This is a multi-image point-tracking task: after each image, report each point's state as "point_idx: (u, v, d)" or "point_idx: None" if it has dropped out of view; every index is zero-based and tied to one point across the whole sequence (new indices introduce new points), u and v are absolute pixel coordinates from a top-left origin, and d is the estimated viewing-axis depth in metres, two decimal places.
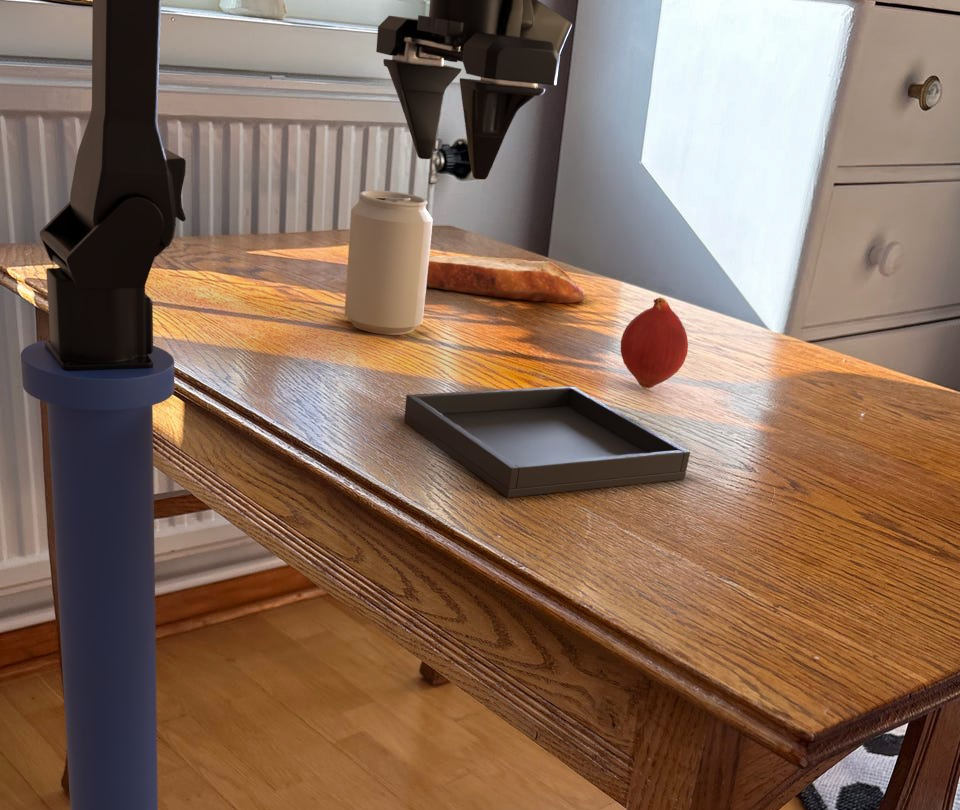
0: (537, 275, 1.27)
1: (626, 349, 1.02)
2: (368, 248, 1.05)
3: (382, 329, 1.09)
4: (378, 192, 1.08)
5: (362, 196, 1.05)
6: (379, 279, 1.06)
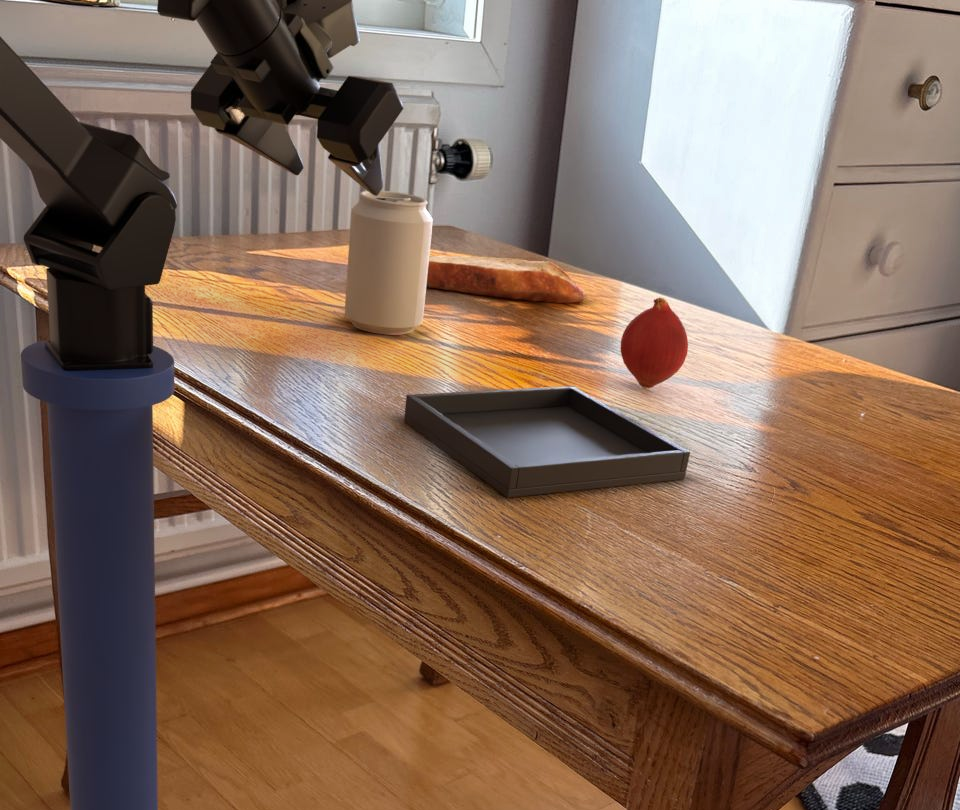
0: (537, 275, 1.27)
1: (626, 349, 1.02)
2: (368, 248, 1.05)
3: (382, 329, 1.09)
4: None
5: (362, 196, 1.05)
6: (379, 279, 1.06)
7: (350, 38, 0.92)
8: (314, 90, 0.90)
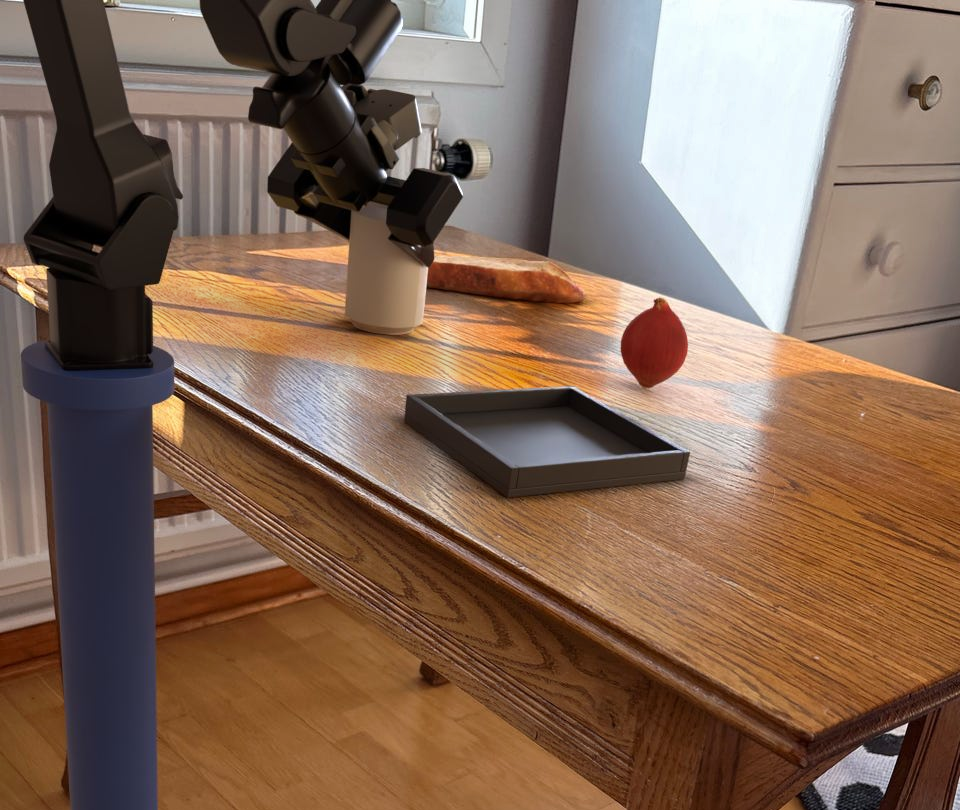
0: (537, 275, 1.27)
1: (626, 349, 1.02)
2: (368, 248, 1.05)
3: (382, 329, 1.09)
4: None
5: None
6: (380, 279, 1.06)
7: (413, 131, 1.02)
8: (382, 180, 1.00)
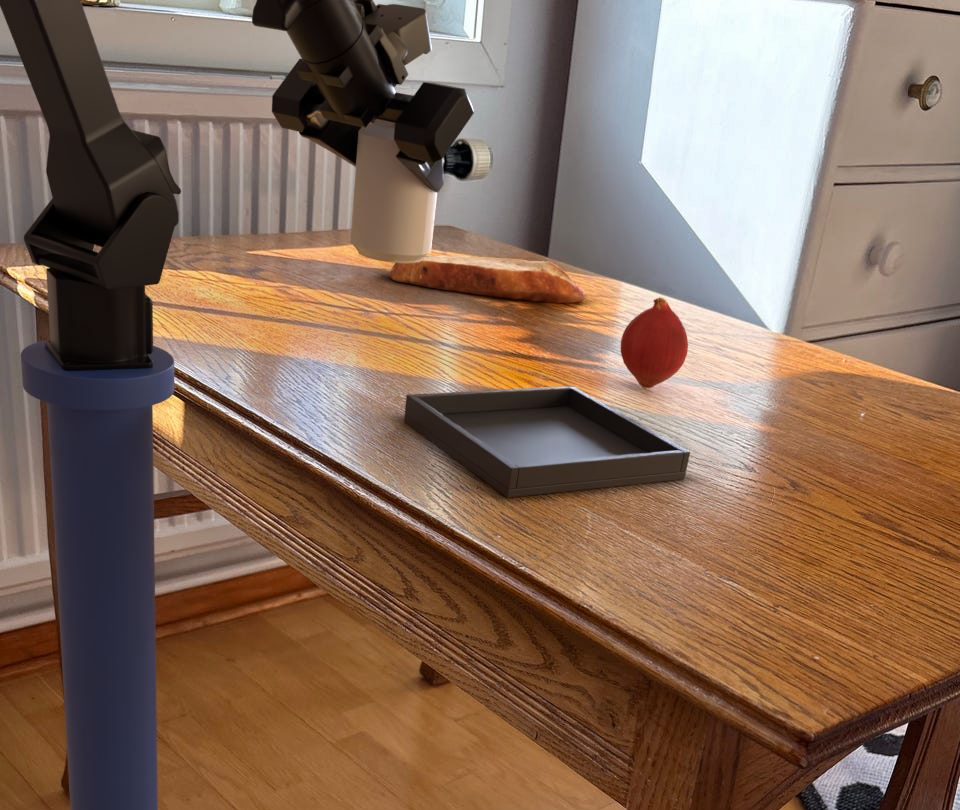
0: (537, 275, 1.27)
1: (626, 349, 1.02)
2: (375, 170, 1.02)
3: (389, 256, 1.05)
4: None
5: None
6: (387, 203, 1.03)
7: (423, 47, 0.98)
8: (390, 95, 0.97)
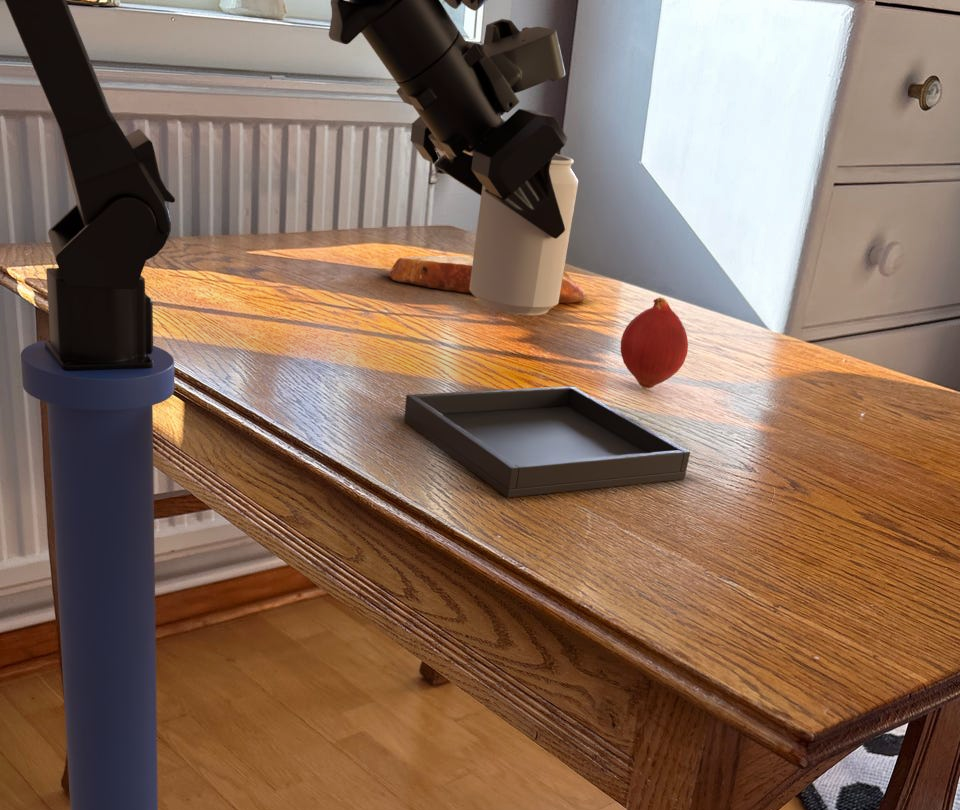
0: None
1: (626, 349, 1.02)
2: (487, 207, 0.91)
3: (494, 304, 0.94)
4: None
5: None
6: (494, 244, 0.92)
7: (548, 72, 0.86)
8: (492, 123, 0.86)
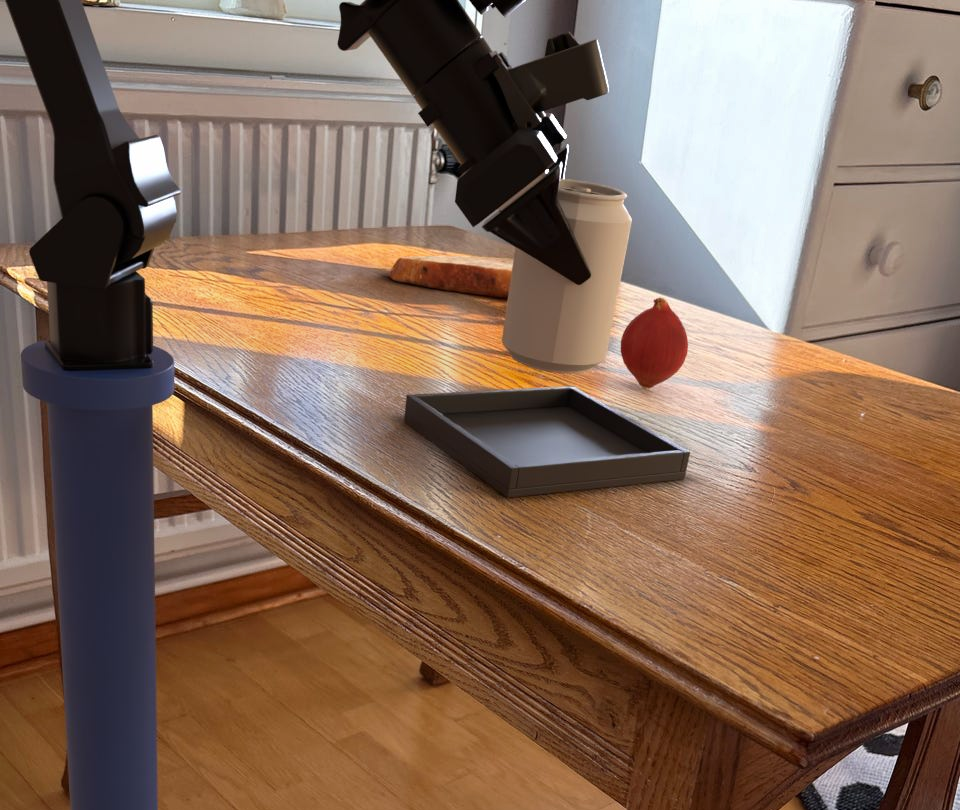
0: None
1: (626, 349, 1.02)
2: None
3: (514, 355, 0.81)
4: (593, 185, 0.80)
5: None
6: (516, 286, 0.79)
7: (581, 90, 0.73)
8: None
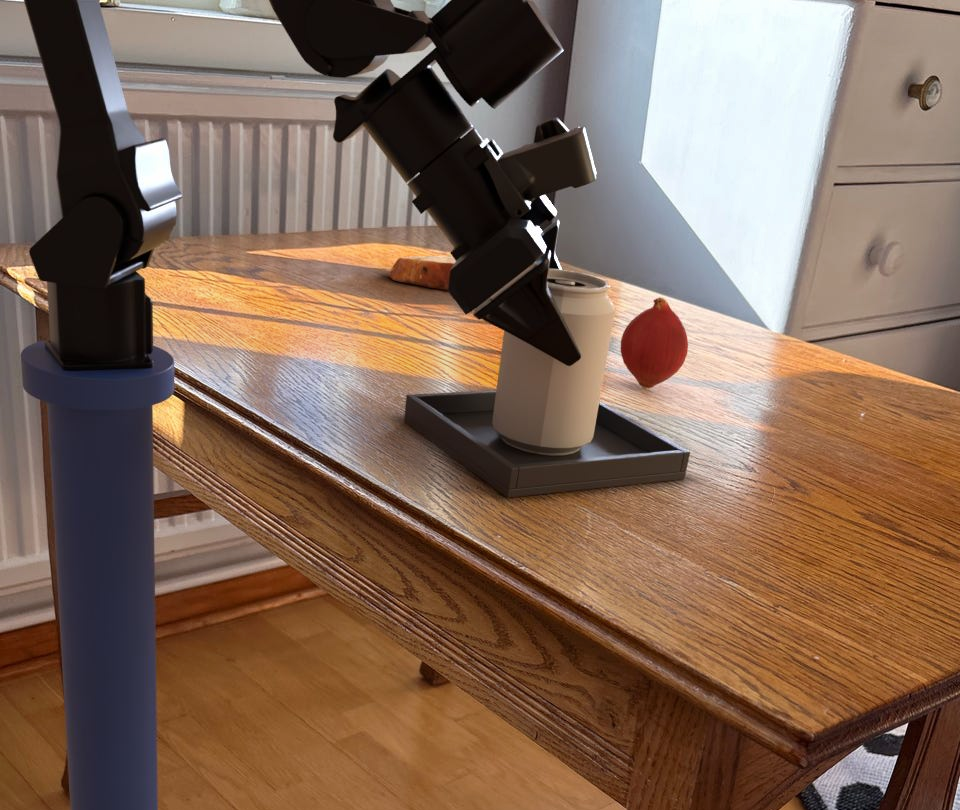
0: None
1: (626, 349, 1.02)
2: (504, 332, 0.82)
3: (504, 437, 0.84)
4: (578, 275, 0.83)
5: None
6: (504, 373, 0.82)
7: (569, 178, 0.75)
8: None
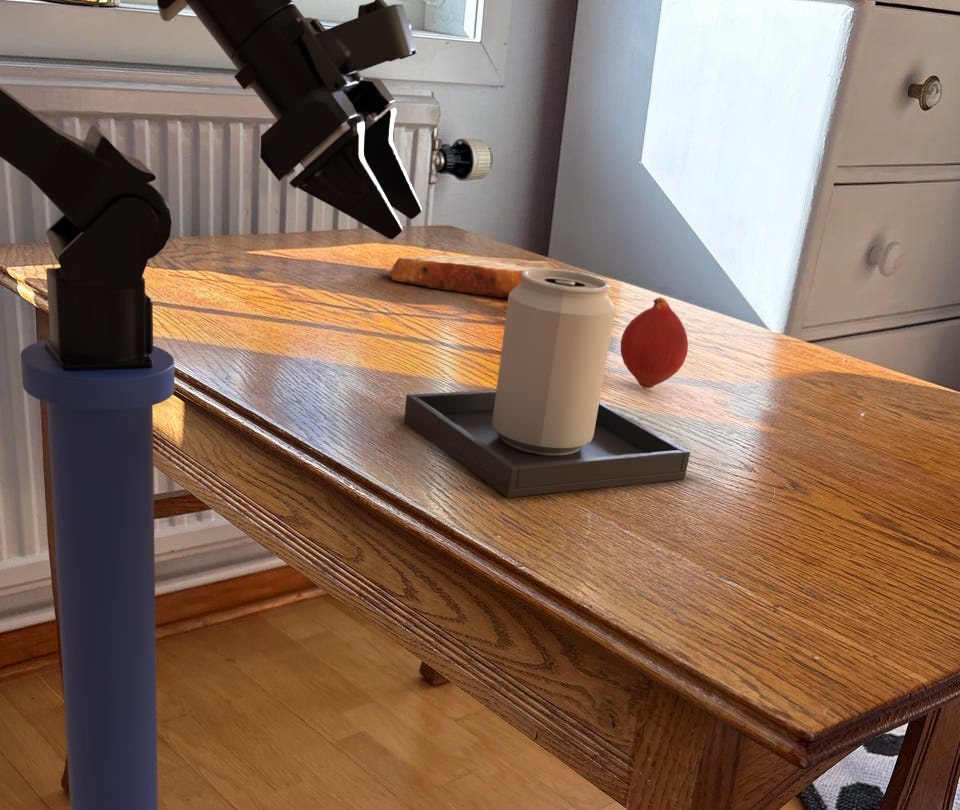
0: None
1: (626, 349, 1.02)
2: (504, 332, 0.82)
3: (504, 438, 0.84)
4: (578, 275, 0.83)
5: None
6: (504, 373, 0.82)
7: (383, 51, 0.77)
8: None
